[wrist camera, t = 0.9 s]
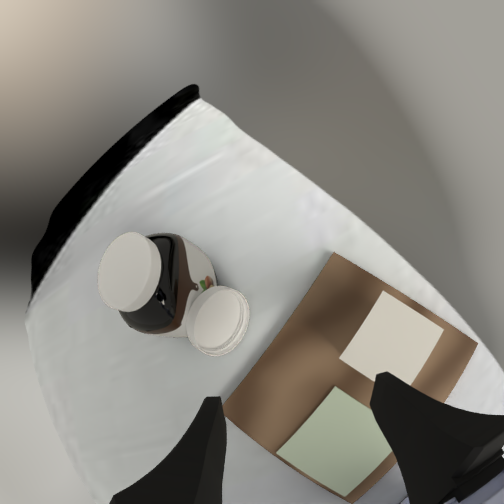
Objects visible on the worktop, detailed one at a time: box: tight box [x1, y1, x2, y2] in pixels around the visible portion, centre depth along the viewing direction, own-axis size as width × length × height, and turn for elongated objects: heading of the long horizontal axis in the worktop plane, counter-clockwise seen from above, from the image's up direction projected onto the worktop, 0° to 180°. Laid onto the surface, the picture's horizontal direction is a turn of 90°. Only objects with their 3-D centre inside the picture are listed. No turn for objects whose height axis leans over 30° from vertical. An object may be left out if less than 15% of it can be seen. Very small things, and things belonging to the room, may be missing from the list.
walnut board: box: [222, 252, 478, 504], centre depth 22 cm, size 18×20×1 cm
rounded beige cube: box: [339, 291, 444, 385], centre depth 19 cm, size 6×6×6 cm
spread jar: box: [97, 232, 250, 356], centre depth 25 cm, size 12×11×12 cm
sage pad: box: [276, 386, 392, 497], centre depth 20 cm, size 9×9×1 cm
